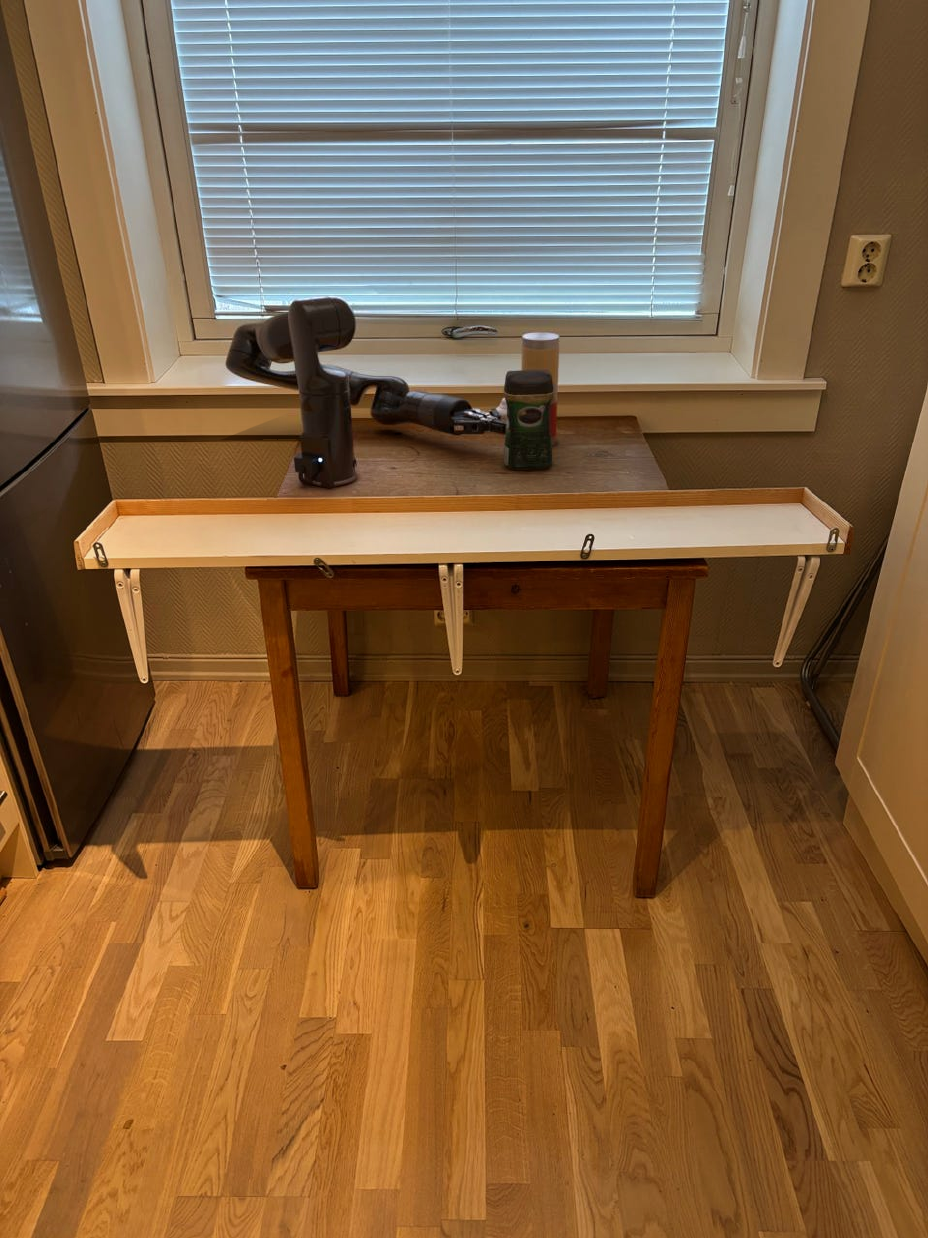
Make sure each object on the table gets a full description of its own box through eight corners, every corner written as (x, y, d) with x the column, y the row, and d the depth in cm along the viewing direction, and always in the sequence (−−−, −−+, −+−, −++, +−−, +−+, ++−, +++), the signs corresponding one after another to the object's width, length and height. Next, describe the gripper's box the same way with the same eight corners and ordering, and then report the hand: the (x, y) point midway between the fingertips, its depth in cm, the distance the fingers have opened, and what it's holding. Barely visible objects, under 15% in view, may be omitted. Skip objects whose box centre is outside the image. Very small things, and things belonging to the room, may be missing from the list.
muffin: (494, 431, 200) (494, 399, 196) (495, 423, 205) (495, 392, 202) (522, 431, 199) (523, 399, 196) (523, 423, 205) (523, 392, 201)
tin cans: (546, 450, 188) (549, 341, 177) (514, 445, 191) (515, 337, 181) (561, 440, 194) (565, 334, 183) (529, 435, 197) (532, 330, 186)
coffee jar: (549, 457, 184) (552, 364, 175) (554, 470, 177) (557, 374, 168) (501, 458, 184) (502, 365, 175) (504, 472, 177) (505, 376, 168)
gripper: (466, 424, 196) (529, 439, 185) (423, 438, 187) (487, 455, 177) (465, 389, 192) (530, 402, 182) (421, 402, 183) (487, 417, 173)
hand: (508, 428), depth 179 cm, fingers closed
